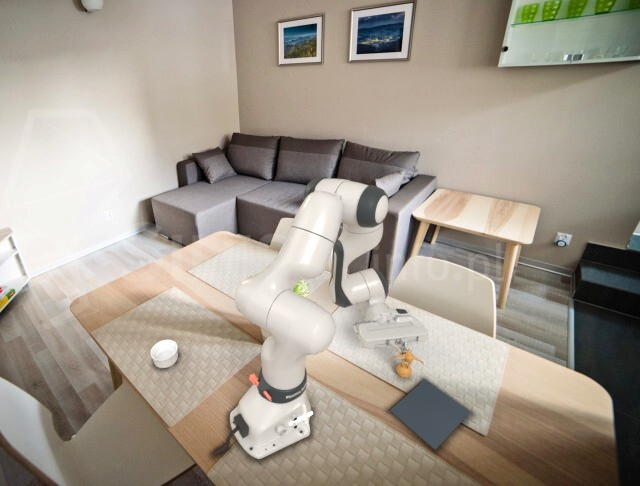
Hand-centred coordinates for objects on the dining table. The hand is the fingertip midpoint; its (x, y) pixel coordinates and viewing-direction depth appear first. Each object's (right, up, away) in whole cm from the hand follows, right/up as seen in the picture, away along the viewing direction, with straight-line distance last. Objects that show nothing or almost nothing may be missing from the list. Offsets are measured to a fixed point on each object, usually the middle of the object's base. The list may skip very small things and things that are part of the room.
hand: (404, 353), depth 93 cm
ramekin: (-72, -8, +16) cm, 74 cm away
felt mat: (+3, -12, -7) cm, 15 cm away
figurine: (+1, -8, +3) cm, 9 cm away
